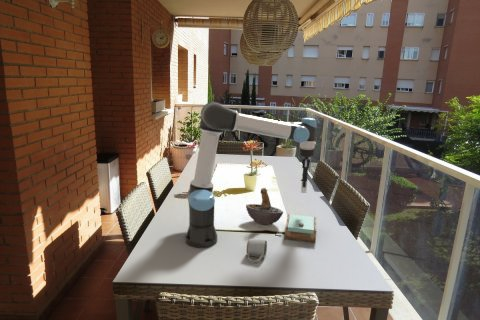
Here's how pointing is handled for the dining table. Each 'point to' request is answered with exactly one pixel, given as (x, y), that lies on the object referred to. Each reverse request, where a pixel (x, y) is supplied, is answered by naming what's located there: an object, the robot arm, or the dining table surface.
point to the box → (300, 234)
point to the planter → (264, 210)
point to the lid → (301, 224)
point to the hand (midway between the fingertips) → (303, 191)
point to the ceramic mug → (256, 249)
